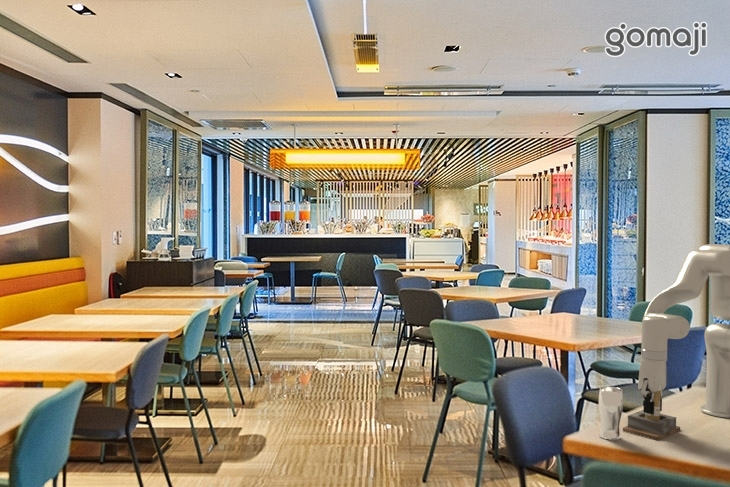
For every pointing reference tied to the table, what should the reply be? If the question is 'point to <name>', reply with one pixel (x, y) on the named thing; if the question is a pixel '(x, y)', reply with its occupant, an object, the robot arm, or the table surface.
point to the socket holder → (651, 425)
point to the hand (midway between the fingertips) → (652, 411)
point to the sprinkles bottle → (655, 406)
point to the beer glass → (610, 412)
